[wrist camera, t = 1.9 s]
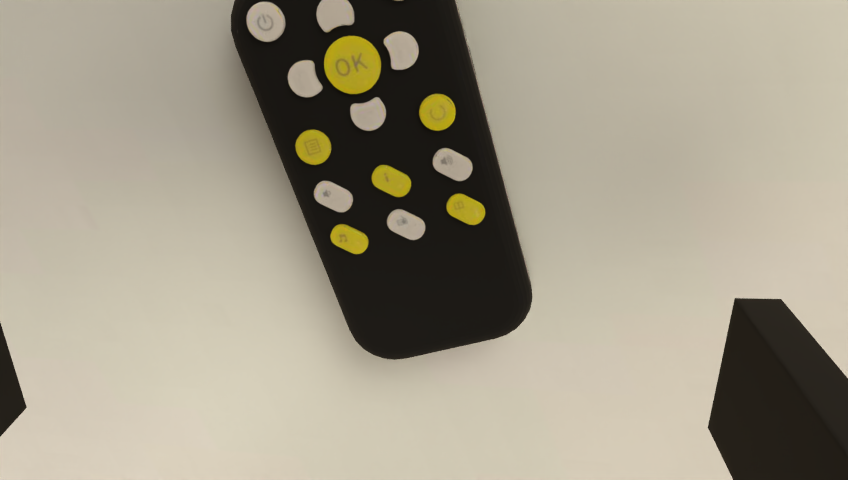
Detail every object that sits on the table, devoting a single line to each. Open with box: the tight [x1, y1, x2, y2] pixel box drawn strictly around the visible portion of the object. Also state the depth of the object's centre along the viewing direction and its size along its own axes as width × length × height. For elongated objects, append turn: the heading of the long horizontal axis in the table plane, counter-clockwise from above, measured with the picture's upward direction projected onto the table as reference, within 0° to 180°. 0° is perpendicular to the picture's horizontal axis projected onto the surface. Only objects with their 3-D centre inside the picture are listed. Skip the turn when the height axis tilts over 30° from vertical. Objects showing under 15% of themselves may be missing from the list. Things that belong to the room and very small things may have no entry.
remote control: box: [231, 0, 532, 359], centre depth 21 cm, size 6×13×2 cm, turn 17°
